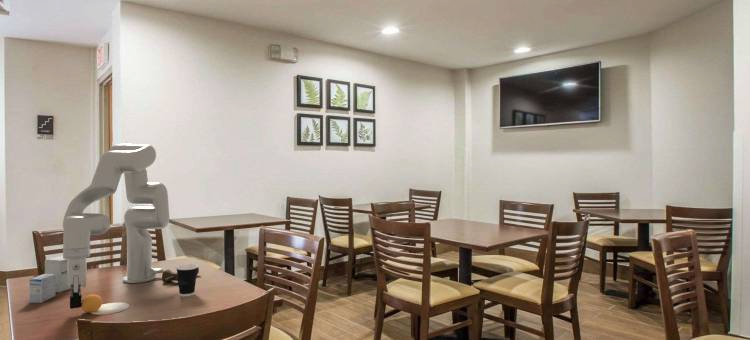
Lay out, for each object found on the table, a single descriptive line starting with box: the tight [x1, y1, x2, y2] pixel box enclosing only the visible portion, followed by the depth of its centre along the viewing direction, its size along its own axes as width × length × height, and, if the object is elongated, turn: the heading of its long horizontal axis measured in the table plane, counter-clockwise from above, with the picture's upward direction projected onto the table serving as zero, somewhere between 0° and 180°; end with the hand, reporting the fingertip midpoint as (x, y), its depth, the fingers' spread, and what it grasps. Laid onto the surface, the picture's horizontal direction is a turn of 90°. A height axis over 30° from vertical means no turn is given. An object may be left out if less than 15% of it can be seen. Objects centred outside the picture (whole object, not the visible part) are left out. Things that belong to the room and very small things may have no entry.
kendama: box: [161, 266, 200, 284], centre depth 192 cm, size 6×10×20 cm
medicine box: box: [28, 273, 56, 304], centre depth 164 cm, size 8×4×9 cm, turn 5°
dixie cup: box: [175, 263, 199, 297], centre depth 172 cm, size 8×8×11 cm
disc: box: [90, 302, 130, 316], centre depth 156 cm, size 12×12×1 cm
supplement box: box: [44, 255, 70, 293], centre depth 177 cm, size 7×7×13 cm
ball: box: [80, 293, 103, 314], centre depth 152 cm, size 6×6×6 cm
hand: (75, 307), depth 149 cm, fingers closed
